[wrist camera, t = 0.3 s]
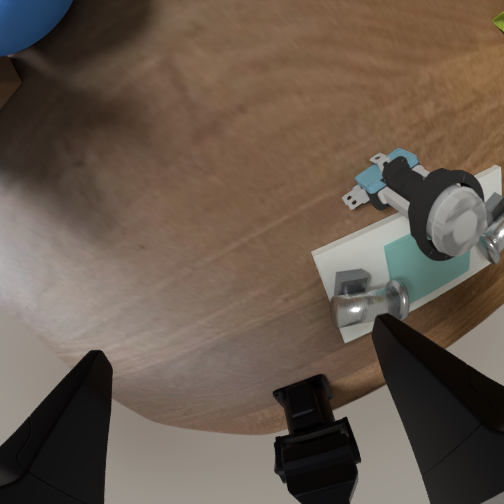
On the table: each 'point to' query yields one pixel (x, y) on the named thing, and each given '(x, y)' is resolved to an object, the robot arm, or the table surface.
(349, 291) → the shaft left
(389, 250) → the white rectangular board
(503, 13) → the artificial plant
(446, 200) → the push button
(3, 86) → the wooden block
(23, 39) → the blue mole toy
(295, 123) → the table surface
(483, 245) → the shaft right
